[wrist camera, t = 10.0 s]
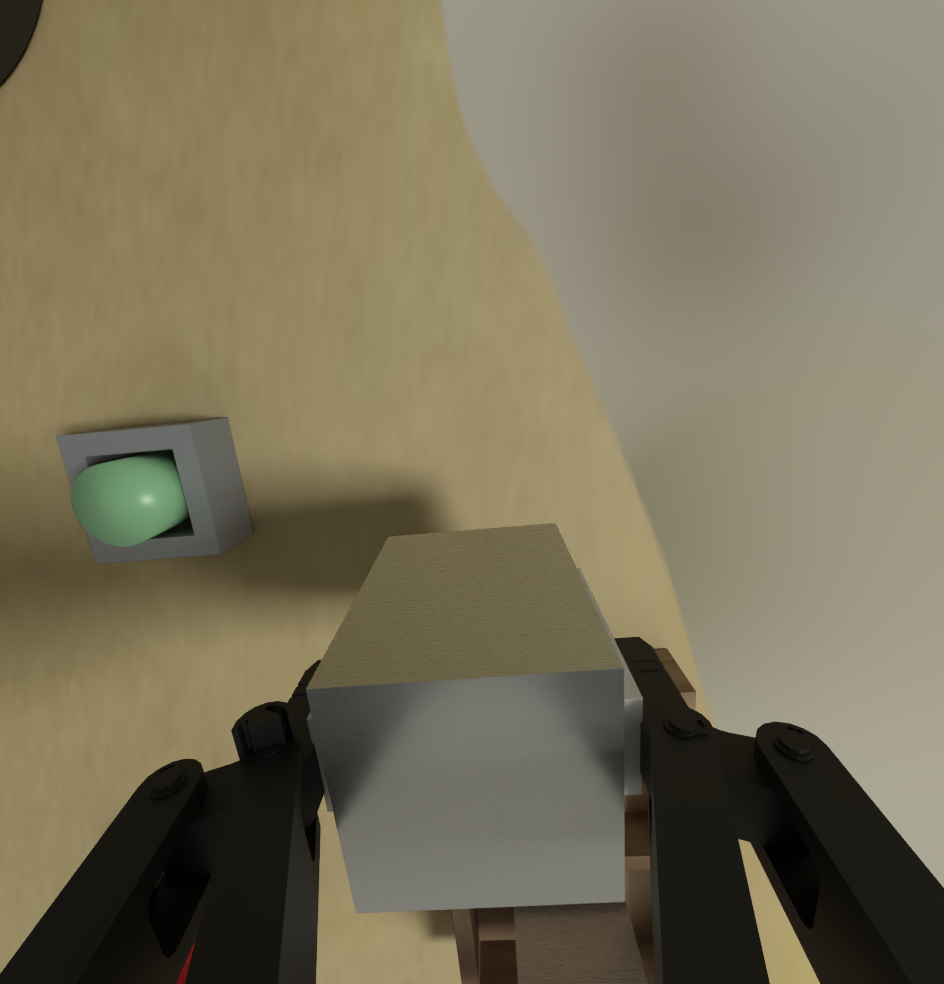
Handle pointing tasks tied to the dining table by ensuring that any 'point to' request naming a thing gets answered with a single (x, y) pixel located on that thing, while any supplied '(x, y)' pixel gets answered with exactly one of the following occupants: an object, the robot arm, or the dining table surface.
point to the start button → (130, 498)
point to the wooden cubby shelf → (492, 930)
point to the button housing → (203, 478)
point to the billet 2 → (577, 944)
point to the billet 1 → (474, 728)
